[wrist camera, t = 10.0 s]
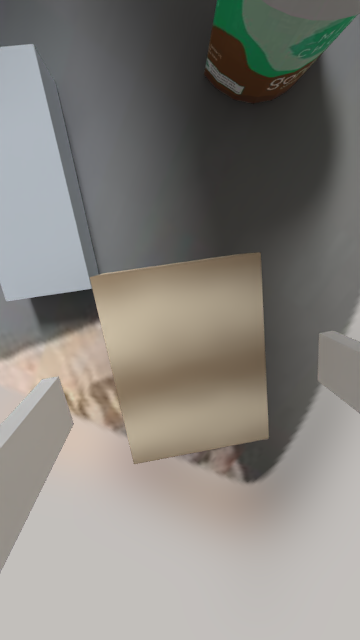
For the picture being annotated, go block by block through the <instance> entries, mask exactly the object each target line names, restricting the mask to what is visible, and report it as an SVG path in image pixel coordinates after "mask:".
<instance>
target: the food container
mask: <svg viewBox="0 0 360 640" xmlns="http://www.w3.org/2000/svg"><path fill="white" fill-rule="evenodd" d="M358 14H360V0H217V3H216V8H215V14H214V20H213V26H212V31H211V37H210V43H209V49H208V55H207V60H206V66H205V72H204V75H205V76H206V78H207V79H208V80H209V81H210V82H211V83H212V84H213V86H214V87H215V88H216V89H218V90H219V91H221V92H223V93H224V94H226V95H227V96H229V97H230V98H232V99H234V100H238V101H243V102H248V103H252V104H254V103H259V102H264V101H270V100H273V99H275V98H276V97H278V96H280V95H281V94H283V93H285V92H286V91H287V90H288V89H289V88H291V87H292V86H293V85H294V84H295V83H296V82H297V80H298V79H299V78H300V77H301V76H302V75H303V74H304V73H305V72H306V71H307V70H308V68H309V67H310V66H311V65H312V64H313V63H314V62H315V61H316V60H317V59H318V57H319V56H320V55H321V54H322V53H323V52H324V51H325V50H326V49H327V48H328V47H329V45H330V44H331V43H332V42H333V41H334V40H335V39H336V38H337V37H338V36H339V35H340V33H341V32H342V31H343V30H344V29H345V28H346V27H347V26H348V25H349V24H350V23H351V21H352V20H353V19H354V18H355V17H356V16H357V15H358Z"/></svg>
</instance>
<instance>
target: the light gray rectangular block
mask: <svg viewBox="0 0 360 640" xmlns="http://www.w3.org/2000/svg"><path fill="white" fill-rule="evenodd" d="M96 275H99V272H98V268H97V264H96V259H95V255H94V250H93V246H92V242H91V237H90V233H89V228H88V224H87V219H86V215H85V211H84V206H83V202H82V197H81V193H80V189H79V184H78V180H77V175H76V171H75V166H74V162H73V158H72V153H71V149H70V144H69V140H68V135H67V131H66V127H65V122H64V118H63V113H62V109H61V105H60V100H59V96H58V91H57V87H56V83H55V81H54V79H53V77H52V76H51V74H50V72H49V70H48V69H47V67H46V65H45V64H44V62H43V60H42V58H41V57H40V55H39V53H38V51H37V50H36V48H35V46H34V44H27V45H16V46H4V47H0V284H1V287H2V290H3V293H4V296H5V299H6V301H12V300H19V299H25V298H32V297H39V296H46V295H53V294H59V293H66V292H73V291H80V290H86V289H92V285H91V281H90V277H92V276H96Z"/></svg>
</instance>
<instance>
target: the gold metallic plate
mask: <svg viewBox="0 0 360 640" xmlns="http://www.w3.org/2000/svg"><path fill="white" fill-rule="evenodd" d="M90 281H91V285H92V289H93V293H94V298H95V302H96V306H97V310H98V315H99V319H100V323H101V327H102V331H103V336H104V340H105V344H106V348H107V352H108V357H109V361H110V365H111V369H112V374H113V378H114V382H115V386H116V390H117V395H118V399H119V403H120V407H121V411H122V416H123V420H124V424H125V428H126V432H127V437H128V441H129V445H130V449H131V453H132V457H133V462H134V464H138V463H143V462H148V461H153V460H159V459H163V458H169V457H175V456H180V455H185V454H190V453H196V452H201V451H206V450H211V449H216V448H222V447H227V446H232V445H237V444H243V443H248V442H253V441H258V440H264V439H269V428H268V406H267V384H266V361H265V339H264V317H263V294H262V272H261V252H259V253H245V254H236V255H229V256H222V257H215V258H208V259H201V260H194V261H188V262H181V263H174V264H167V265H160V266H153V267H146V268H139V269H132V270H125V271H118V272H111V273H105V274H100V275H96V276H92V277H90Z"/></svg>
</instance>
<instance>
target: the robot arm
mask: <svg viewBox="0 0 360 640" xmlns="http://www.w3.org/2000/svg"><path fill="white" fill-rule="evenodd" d="M318 381H319V382H320V383H321V384H323V385H324V386H325V387H327V388H328V389H329V390H330V391H332V392H333V393H334V394H336V395H337V396H338V397H340V398H341V399H342V400H343V401H345V402H346V403H347V404H348V405H350V406H351V407H352V408H353V409H355V410H356V411H357V412H359V413H360V342H359V341H356V340H354V339H352V338H349V337H347V336H345V335H342V334H340V333H338V332H335V331H329V332H323V333H319V355H318ZM73 424H74V423H73V420H72V417H71V414H70V411H69V408H68V404H67V401H66V398H65V395H64V392H63V389H62V386H61V382H60V379H59V377H53V378H47V379H42V380H41V381H40V382H39V383H38V385H37V386H36V387H35V388H34V389H33V390H32V391H31V392H30V393H29V394H28V395H27V396H26V398H25V399H24V400H23V401H22V402H21V403H20V404H19V405H18V406H17V407H16V408H15V410H14V411H13V412H12V413H11V414H10V415H9V416H8V417H7V418H6V419H5V420H4V421H3V422H2V424H1V425H0V572H1V570H2V568H3V566H4V564H5V562H6V560H7V558H8V556H9V554H10V552H11V550H12V548H13V546H14V544H15V542H16V540H17V538H18V536H19V534H20V532H21V530H22V527H23V526H24V524H25V522H26V520H27V518H28V516H29V513H30V511H31V509H32V507H33V505H34V503H35V501H36V499H37V497H38V495H39V493H40V491H41V489H42V487H43V485H44V483H45V481H46V479H47V477H48V475H49V473H50V471H51V469H52V467H53V465H54V462H55V461H56V459H57V457H58V455H59V452H60V451H61V449H62V447H63V445H64V443H65V441H66V438H67V436H68V434H69V432H70V430H71V428H72V426H73Z"/></svg>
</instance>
